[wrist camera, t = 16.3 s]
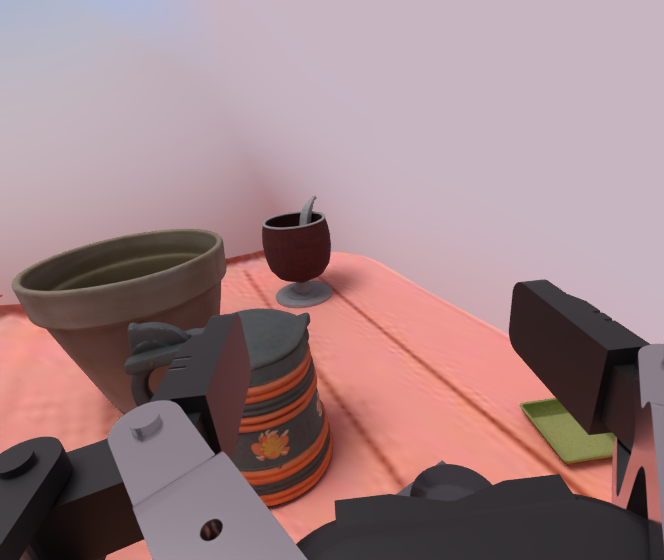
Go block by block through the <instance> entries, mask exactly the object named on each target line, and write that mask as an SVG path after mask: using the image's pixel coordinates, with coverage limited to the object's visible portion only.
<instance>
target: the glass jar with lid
mask: <svg viewBox="0 0 664 560" xmlns="http://www.w3.org/2000/svg"><path fill="white" fill-rule="evenodd" d="M490 486H492V484H491V483H490V482H489V481H488V480H487V479H486V478H484V477H483V476H481V475H480V474H478V473H477V472H475V471H473V470H471V469H469V468H466V467H463V466H459V465H452V464H443V465H436V466H433V467H430V468H428V469H426V470H425V471H423V472H422V473H421V474H420V475H419V476H418V477H417V478H416V479H415V481H414V483H413V485H412V488H411V491H410V497H418V498H426V499H434V500H443V501H455V500H458V499H460V498H463V497H465V496H468V495H470V494H473V493H475V492H478V491H480V490H483V489H485V488H488V487H490Z"/></svg>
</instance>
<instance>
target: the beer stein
mask: <svg viewBox="0 0 664 560" xmlns="http://www.w3.org/2000/svg"><path fill="white" fill-rule="evenodd" d="M235 313H238V314H239V316H240V318H241V322H242V326H243V331H244V335H245V340H246V344H247V349H248V353H249V358H250V365H251V378H250V383H249V388H248V392H247V397H246V401H245V406H244V410H243V415H242V419H241V424H240V428H239V432H238V437H237V441H236V446H235V450H234V455H233V459H232V462H233V463H234V465H235V466H236V467H237V469H238V470H239V471H240V473H241V474H242V475H243V476H244V478H245V479H246V480H247V482H248V483H249V484H250V486H251V487H252V488H253V489H254V491H255V492H256V493H257V495H258V496H259V497H260V498H261V500H262V501H263V502H264V504H265V505H266V506H273V505H277V504H281V503H284V502H287V501H289V500H292V499H294V498H296V497H298V496H300V495H301V494H303V493H304V492H306V491H307V490H309V489H310V488H311V487H312V486H313V485H314V484H315V483H316V482H317V481H318V480H319V479H320V478H321V476H322V475H323V474H324V472H325V470H326V468H327V466H328V464H329V461H330V458H331V455H332V450H333V439H332V434H331V431H330V426H329V422H328V418H327V414H326V411H325V408H324V405H323V403H322V402H321V400H320V398H319V394H318V390H317V375H316V372H315V367H314V365H313V359H312V356H311V352H310V347H309V343H308V340H309V333H308V329H307V326H308V325H309V323H310V316H309V314H308V313H303V314H301V315H298V316H296V315H294V314H291V313H288V312H284V311H280V310H273V309H250V310H243V311H239V312H235ZM235 313H232V314H235ZM204 329H205V327H204V328H193V329H190V330H187V331H183V330H182V329H180V328H178V327H176V326H173V325H170V324H166V323H160V322H148V323H141V324H137V323H131V324H129V326H128V340H129V345H130V349H131V353H132V357H130V358H128V359H127V361H126V363H125V364H124V368H125V371H126V373H127V375H131V392H132V396H133V399H134V401H135V403H136V405H137V406H138V407H139V406H141V405H143V404H146V403H149V402H150V400H151V399H152V397H153V395H154V394H153V392H152V391H151V389H150V387H149V377H150V375H151V373H152V372H153V371H154V370H155V369H156V368H159V367H162V366H166V365H171V363H172V361H173V360H174V357H175V356H176V354H177V352H178V350H179V349H180V347H181V346H182V345H183V344H184V343H185V342H186V341H187V340H189V339H190V338H191V337H192V336H193V335H198V334H202V333H203V331H204Z"/></svg>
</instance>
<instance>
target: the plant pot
mask: <svg viewBox="0 0 664 560" xmlns="http://www.w3.org/2000/svg"><path fill="white" fill-rule="evenodd" d="M225 273H226V261H225V254H224V246H223V240H222V238H221V237H220V236H219V235H218V234H217V233H214V232H211V231H207V230H200V229H171V230H160V231H152V232H144V233H138V234H132V235H126V236H122V237H117V238H112V239H108V240H104V241H100V242H96V243H92V244H89V245H85V246H82V247H79V248H75V249H72V250H69V251H66V252H63V253H61V254H57V255H55V256H52V257H50V258H48V259H45V260H43V261H40V262H38V263H36V264H35V265H32V266H30V267H29V268H27V269H25V270H24V271H22V272H21V273H19V274H18V275H17V276H16V277H15V278H14V280H13V281H12V288H13V290H14V292H15V294H16V296H17V298H18V299H19V301H20V303H21V305H22V307H23V309H24V310H25V312H26V314H27V316H28V318H29V319H30V321H31V322H32V323H34V324H35V325H37V326H39V327H42V328H45V329H47V330H48V331H49V333H50V334H51V335H52V336H53V337H54V338H55V340H56V341H57V342H58V343H59V344H60V345H61V347H62V348H63V349H64V350H65V351H66V352H67V354H68V355H69V356H70V357H71V358H72V359H73V360H74V361H75V363H76V364H77V365H78V366H79V367H80V368H81V369H82V370H83V372H84V373H85V374H86V375H87V376H88V377H89V378H90V379H91V380H92V382H93V383H94V384H95V385H96V386H97V387H98V388H99V389H100V391H101V392H102V393H103V394H104V395H105V396H106V397H107V398H108V399H109V400H110V401H111V402H112V404H113V405H114V406H115V407H116V408H118V409H119V410H120V411H121V412H123V413H125V414H126V413H128V412H129V411H131V410H133V409H135V408H136V407H138V406H137V405H136V403H135V401H134V399H133V396H132V392H131V375H127V373H126V371H125V368H124V364H125V363H126V361H127V359H128V358H130V357H132V353H131V349H130V345H129V340H128V326H129V324H131V323H137V324H141V323H148V322H160V323H166V324H170V325H173V326H176V327H178V328H180V329H182V330H183V331H187V330H190V329H193V328H204V327H206V325H207V323H208V321H209V319H210V317H211V316H217V315H220V300H221V280H222V279H223V277H224V276H225ZM169 366H170V365H166V366H162V367H159V368H156V369H155V370H154V371H153V372H152V373H151V375H150V377H149V387H150V389H151V391H152V392H153V394H154V393H155V392H156V390H157V388H158V386H159V384H160V383H161V381H162V379H163V377H164V375H165V374H166V372H167V371H168V370H169Z"/></svg>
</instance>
